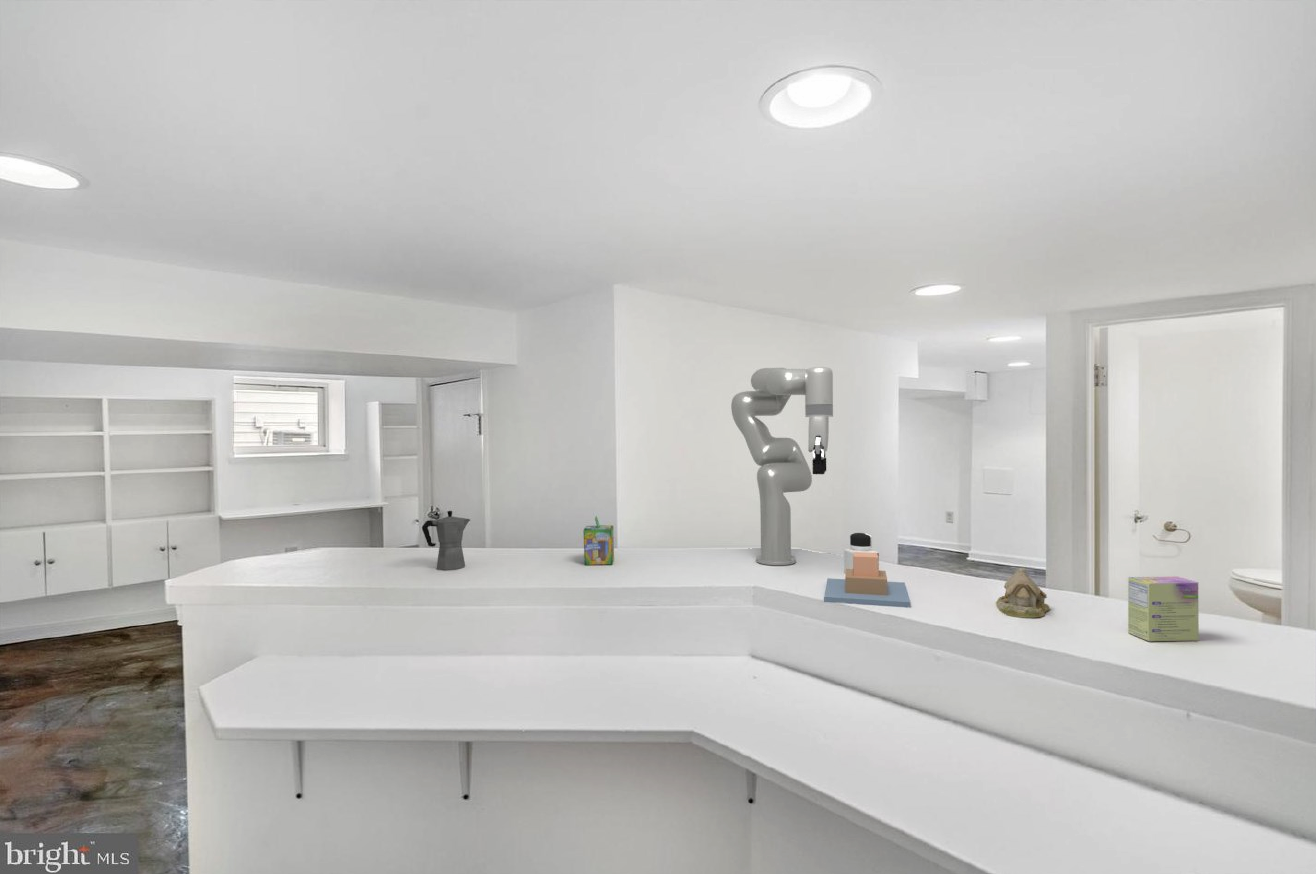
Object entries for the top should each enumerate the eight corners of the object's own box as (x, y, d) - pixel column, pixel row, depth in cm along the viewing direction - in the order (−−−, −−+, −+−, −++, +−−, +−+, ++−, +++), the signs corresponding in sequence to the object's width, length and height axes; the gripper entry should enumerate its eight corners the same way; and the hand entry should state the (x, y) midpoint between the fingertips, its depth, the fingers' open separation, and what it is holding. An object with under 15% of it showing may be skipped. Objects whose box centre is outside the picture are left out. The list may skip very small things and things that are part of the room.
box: (1175, 632, 135) (1175, 575, 134) (1199, 641, 129) (1199, 582, 129) (1126, 633, 134) (1126, 576, 134) (1148, 642, 129) (1148, 583, 128)
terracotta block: (853, 570, 171) (853, 551, 171) (877, 572, 169) (877, 552, 169) (853, 576, 165) (853, 556, 165) (878, 577, 164) (878, 557, 164)
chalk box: (612, 565, 206) (611, 518, 206) (583, 565, 206) (582, 519, 206) (615, 559, 215) (614, 514, 215) (587, 559, 215) (586, 515, 215)
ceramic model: (995, 600, 161) (995, 560, 160) (1048, 605, 155) (1048, 564, 155) (996, 615, 148) (996, 572, 148) (1053, 622, 143) (1053, 576, 143)
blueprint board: (827, 582, 180) (827, 563, 180) (904, 587, 174) (904, 567, 174) (824, 601, 161) (823, 580, 161) (910, 607, 155) (910, 585, 155)
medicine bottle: (857, 578, 184) (857, 536, 184) (843, 573, 191) (843, 532, 191) (879, 576, 186) (879, 534, 186) (865, 571, 193) (864, 531, 193)
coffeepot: (464, 562, 214) (463, 507, 213) (476, 566, 207) (475, 510, 206) (417, 569, 204) (416, 512, 204) (428, 574, 197) (427, 515, 196)
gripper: (807, 412, 191) (808, 470, 191) (802, 411, 174) (803, 475, 175) (834, 411, 189) (834, 470, 189) (831, 410, 172) (832, 475, 173)
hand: (819, 472), depth 182 cm, fingers open, 9 cm apart
